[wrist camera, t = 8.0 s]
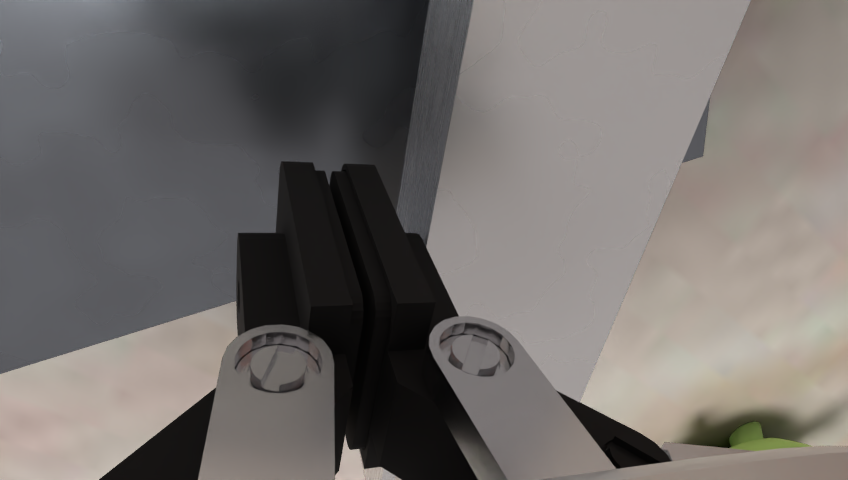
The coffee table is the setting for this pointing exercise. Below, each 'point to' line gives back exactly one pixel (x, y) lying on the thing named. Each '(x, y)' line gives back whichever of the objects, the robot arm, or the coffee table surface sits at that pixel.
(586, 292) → the swing bar
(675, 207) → the coffee table surface
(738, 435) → the teapot
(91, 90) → the dark grey base plate
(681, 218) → the coffee table surface
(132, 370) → the coffee table surface
